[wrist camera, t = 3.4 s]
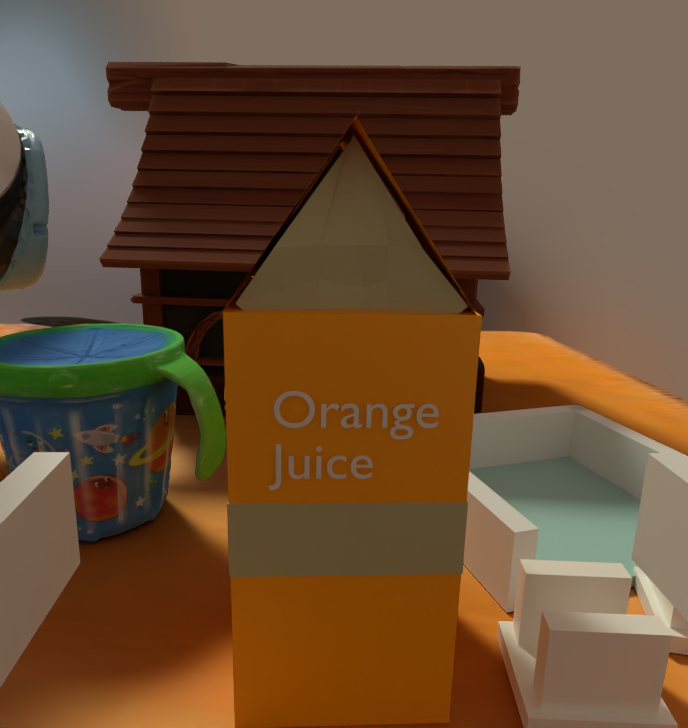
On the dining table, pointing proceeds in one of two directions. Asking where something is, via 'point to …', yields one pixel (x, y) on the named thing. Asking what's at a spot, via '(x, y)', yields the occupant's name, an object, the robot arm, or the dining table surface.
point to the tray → (551, 492)
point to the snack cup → (106, 414)
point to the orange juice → (347, 458)
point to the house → (296, 175)
